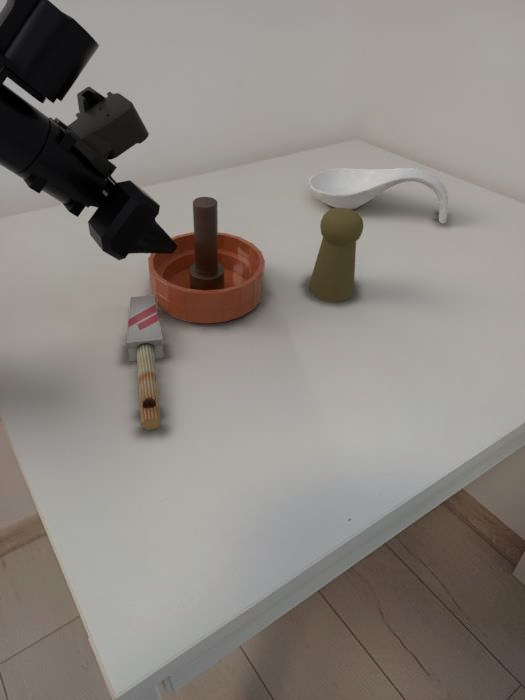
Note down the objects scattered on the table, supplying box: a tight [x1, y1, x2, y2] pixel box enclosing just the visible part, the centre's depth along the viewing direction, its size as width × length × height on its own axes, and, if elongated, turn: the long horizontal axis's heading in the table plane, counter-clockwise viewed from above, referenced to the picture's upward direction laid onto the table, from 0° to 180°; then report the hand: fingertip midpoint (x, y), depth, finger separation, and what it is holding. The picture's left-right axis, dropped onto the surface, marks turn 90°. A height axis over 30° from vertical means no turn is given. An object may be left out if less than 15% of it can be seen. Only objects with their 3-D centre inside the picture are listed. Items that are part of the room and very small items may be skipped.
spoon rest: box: [307, 167, 449, 225], centre depth 86 cm, size 24×12×7 cm, turn 74°
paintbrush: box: [126, 294, 165, 431], centre depth 56 cm, size 4×3×20 cm
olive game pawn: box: [308, 208, 364, 303], centre depth 65 cm, size 6×6×11 cm
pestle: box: [189, 196, 224, 290], centre depth 62 cm, size 4×4×12 cm
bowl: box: [147, 231, 266, 324], centre depth 65 cm, size 14×14×5 cm
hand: (156, 230), depth 57 cm, fingers open, 9 cm apart
